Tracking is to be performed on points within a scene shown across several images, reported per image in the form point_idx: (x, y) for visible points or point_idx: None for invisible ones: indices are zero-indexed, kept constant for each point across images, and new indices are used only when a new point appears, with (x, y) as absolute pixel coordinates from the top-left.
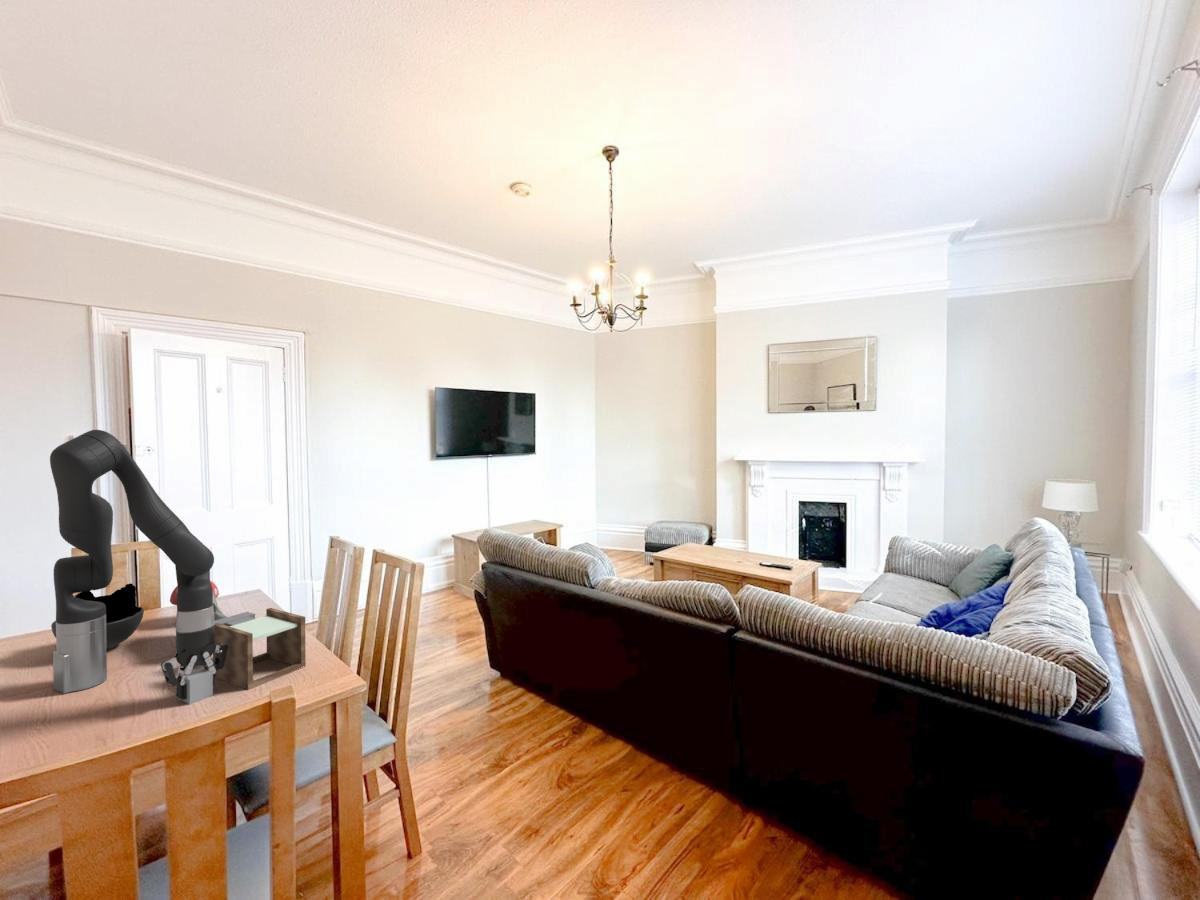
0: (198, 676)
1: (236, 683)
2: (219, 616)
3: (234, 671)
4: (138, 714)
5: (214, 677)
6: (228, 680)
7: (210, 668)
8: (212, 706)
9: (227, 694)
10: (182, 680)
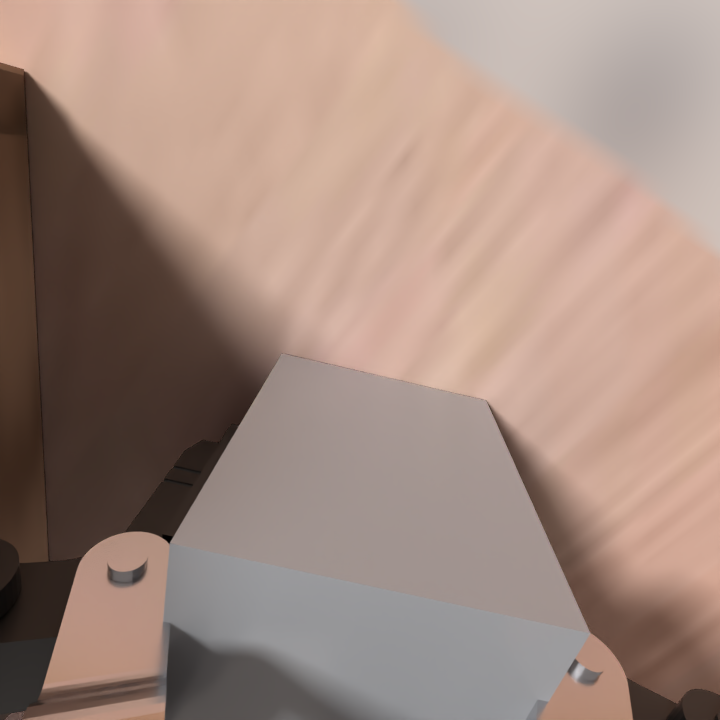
0: (426, 607)
1: (23, 326)
2: None
3: None
4: (690, 617)
5: (151, 502)
6: (32, 455)
7: (131, 655)
8: (480, 119)
9: (210, 222)
10: (612, 708)
